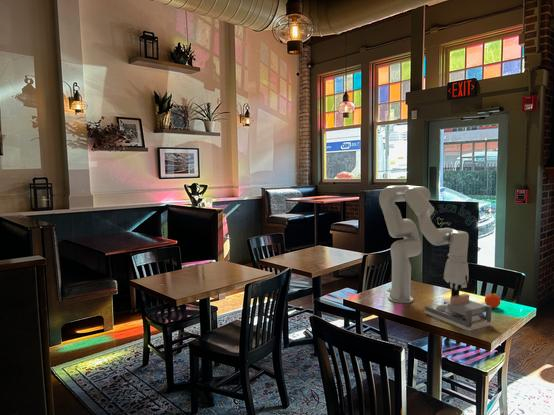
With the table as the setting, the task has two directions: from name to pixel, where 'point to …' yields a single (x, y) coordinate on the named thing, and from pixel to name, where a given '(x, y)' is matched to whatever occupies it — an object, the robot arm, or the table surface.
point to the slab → (465, 305)
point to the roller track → (458, 317)
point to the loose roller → (476, 317)
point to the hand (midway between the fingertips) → (454, 297)
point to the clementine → (492, 300)
